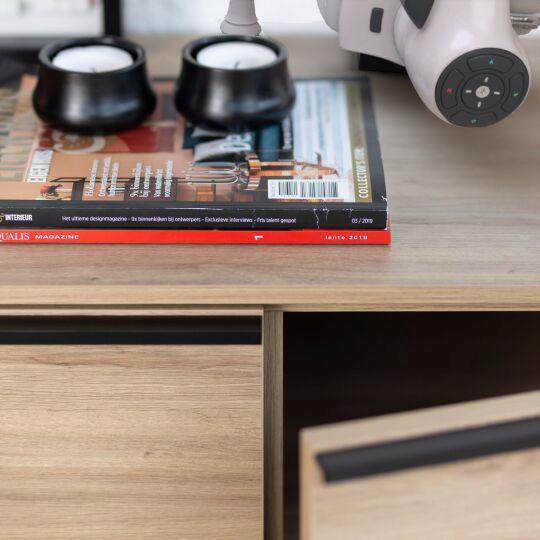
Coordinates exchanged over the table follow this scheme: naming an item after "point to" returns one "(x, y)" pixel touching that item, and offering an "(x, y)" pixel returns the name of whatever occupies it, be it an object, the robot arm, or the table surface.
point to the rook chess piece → (241, 19)
